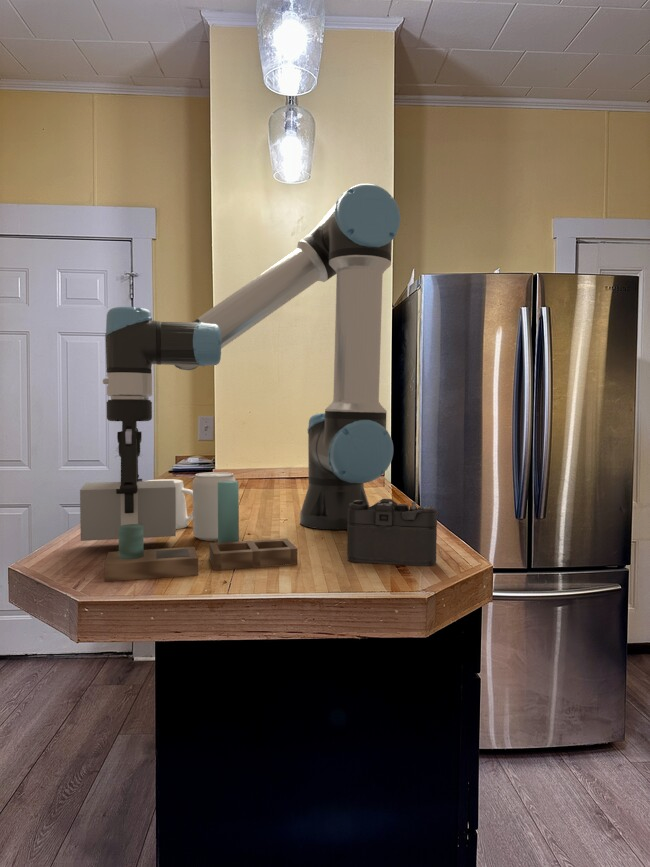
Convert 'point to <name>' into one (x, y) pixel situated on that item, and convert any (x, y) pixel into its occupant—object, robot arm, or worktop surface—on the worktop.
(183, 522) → the mug
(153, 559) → the board
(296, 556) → the board
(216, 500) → the beverage can
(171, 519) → the cover
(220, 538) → the pin
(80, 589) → the worktop surface
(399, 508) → the camera
